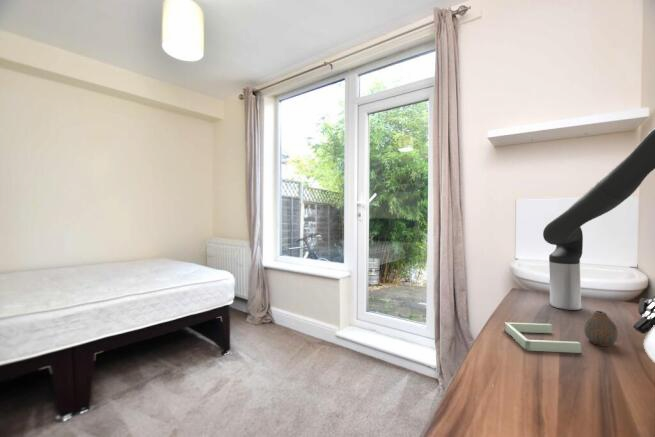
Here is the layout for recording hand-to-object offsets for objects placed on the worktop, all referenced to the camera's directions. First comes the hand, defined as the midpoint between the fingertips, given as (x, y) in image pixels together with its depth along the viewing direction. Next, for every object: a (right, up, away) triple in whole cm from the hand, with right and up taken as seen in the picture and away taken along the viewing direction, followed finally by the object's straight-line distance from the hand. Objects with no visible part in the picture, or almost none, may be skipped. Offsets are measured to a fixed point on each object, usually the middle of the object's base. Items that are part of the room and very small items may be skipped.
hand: (637, 330), depth 79 cm
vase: (-9, -4, +2) cm, 10 cm away
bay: (-23, -5, +4) cm, 24 cm away
